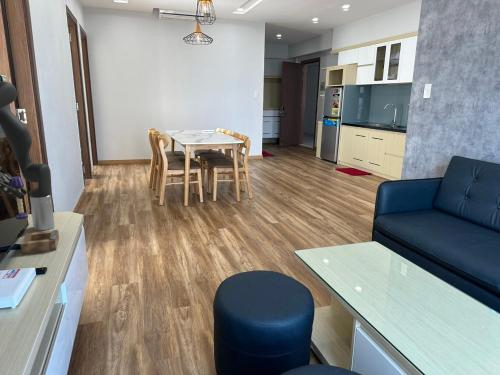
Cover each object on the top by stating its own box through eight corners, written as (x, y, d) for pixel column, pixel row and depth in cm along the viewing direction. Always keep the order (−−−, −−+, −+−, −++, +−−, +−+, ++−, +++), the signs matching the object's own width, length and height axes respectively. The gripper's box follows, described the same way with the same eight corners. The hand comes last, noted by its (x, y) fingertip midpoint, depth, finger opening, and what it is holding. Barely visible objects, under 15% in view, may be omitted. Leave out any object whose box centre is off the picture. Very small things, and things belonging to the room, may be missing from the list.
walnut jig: (21, 254, 150) (20, 243, 149) (27, 242, 162) (26, 232, 161) (56, 250, 155) (54, 239, 154) (59, 239, 167) (58, 229, 165)
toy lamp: (22, 219, 138) (18, 178, 134) (11, 219, 138) (6, 177, 134) (30, 216, 142) (26, 175, 139) (19, 215, 142) (14, 175, 139)
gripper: (-16, 163, 125) (27, 193, 133) (-4, 156, 138) (35, 184, 145) (-32, 178, 125) (12, 208, 132) (-18, 170, 138) (21, 197, 145)
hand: (24, 195), depth 139 cm, fingers closed on toy lamp, 4 cm apart
